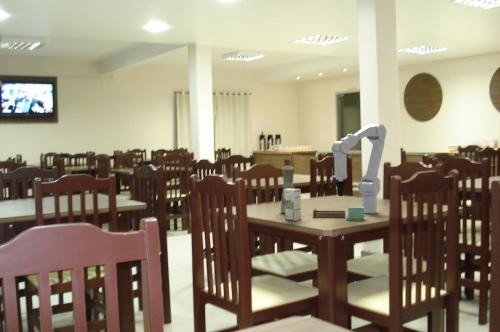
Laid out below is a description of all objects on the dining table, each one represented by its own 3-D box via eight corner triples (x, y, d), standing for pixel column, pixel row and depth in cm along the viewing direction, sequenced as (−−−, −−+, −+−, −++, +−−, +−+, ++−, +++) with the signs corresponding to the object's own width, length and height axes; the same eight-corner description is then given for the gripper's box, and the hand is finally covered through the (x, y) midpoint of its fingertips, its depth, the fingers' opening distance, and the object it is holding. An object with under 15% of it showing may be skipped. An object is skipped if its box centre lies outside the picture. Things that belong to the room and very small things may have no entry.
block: (348, 217, 251) (348, 206, 251) (363, 217, 250) (363, 206, 250) (348, 218, 247) (348, 207, 247) (363, 218, 246) (363, 207, 246)
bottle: (284, 211, 279) (283, 157, 278) (300, 212, 275) (299, 157, 274) (277, 213, 272) (276, 158, 270) (294, 214, 268) (293, 158, 266)
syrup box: (301, 219, 251) (301, 188, 251) (294, 221, 247) (293, 189, 246) (291, 218, 255) (291, 187, 254) (284, 219, 251) (283, 188, 250)
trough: (314, 214, 265) (314, 207, 264) (345, 215, 262) (345, 207, 262) (313, 217, 256) (313, 210, 256) (345, 217, 254) (345, 210, 254)
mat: (346, 217, 253) (346, 216, 253) (363, 217, 252) (363, 216, 252) (346, 220, 245) (346, 219, 245) (364, 220, 244) (364, 219, 244)
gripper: (332, 165, 264) (332, 193, 264) (331, 167, 249) (332, 196, 250) (346, 165, 262) (347, 193, 263) (347, 167, 248) (347, 196, 249)
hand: (340, 195), depth 257 cm, fingers open, 7 cm apart
